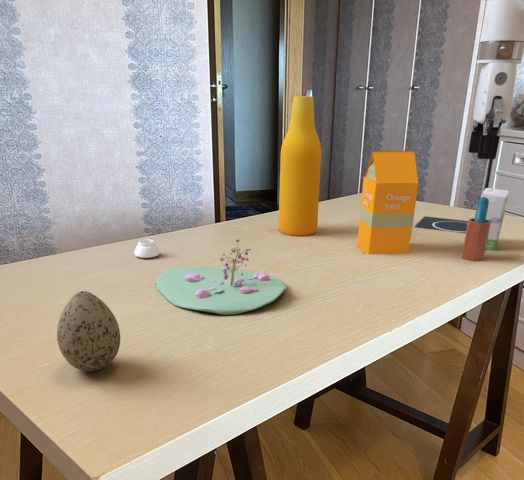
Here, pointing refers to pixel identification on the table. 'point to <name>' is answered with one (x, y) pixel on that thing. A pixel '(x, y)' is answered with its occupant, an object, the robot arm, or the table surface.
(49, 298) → the table surface
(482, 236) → the pen cup
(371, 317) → the table surface
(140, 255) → the white jar
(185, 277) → the plant
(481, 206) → the marker
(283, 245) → the table surface
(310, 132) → the beer bottle
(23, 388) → the table surface
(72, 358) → the decorative egg
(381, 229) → the orange juice
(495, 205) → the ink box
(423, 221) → the drawing mat
